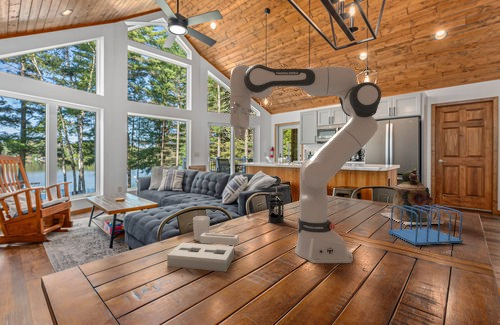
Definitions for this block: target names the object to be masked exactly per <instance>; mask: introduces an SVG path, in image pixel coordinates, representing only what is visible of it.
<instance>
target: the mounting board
mask: <svg viewBox="0 0 500 325" xmlns="http://www.w3.org/2000/svg"><path fill="white" fill-rule="evenodd" d="M234 257H235V245H232V246H229V245H222V244H211V245H208V244H207V243H193V242H180V243H179V244H178V245H177V246H175V248H174V249H172V250H171V251H170V252H169V253H168V254H167V256H166V258H167V260H166V262H167V265H166V266H167V267H173V268H184V269H194V270H202V271H203V270H204V271H214V272H215V271H216V272H227V271H228V269H229V268H230V265H231V263H232V261H233V260H234Z"/></svg>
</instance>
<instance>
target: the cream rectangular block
mask: <svg viewBox="0 0 500 325" xmlns="http://www.w3.org/2000/svg"><path fill="white" fill-rule="evenodd" d="M239 240H240V236H239V234H230V233H229V234H226V233H224V234H223V233H215V232H214V233H211V232H209V233H203V234H201V235H200V241H199V244H208V245H221V246H234V247H236V246H238V244H239Z"/></svg>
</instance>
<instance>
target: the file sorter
mask: <svg viewBox="0 0 500 325" xmlns="http://www.w3.org/2000/svg"><path fill="white" fill-rule="evenodd" d="M415 206H416V207H420V208H421V210H420V209H416V208H414V207H415ZM424 206H427V207H430V209H428V208H424ZM394 207H398V208H401V223H400V229H393V220H392V219H393V213H394V211H393V208H394ZM404 207H409V208H412V209H411V210H408V209H405V208H404ZM441 208H442V209H441ZM403 209H404V210H407V211H410V212H411V225H409V227H410V228H407V229H405V228H403V224H402V215H403ZM413 209H415V210H419V211H421V217H420V225H419V224H418V215H417V213H416V212H414V211H413ZM422 209H427V210H430V213H429V214H428V213H427V212H426V211H423V210H422ZM445 209H446V210H445ZM449 210H450V211H453V212H457V213H458V214H459V215H460V221H459V233H458V234H459V235H458V238H457V237H455V236H453V235H451V232H452V231H451V229H452V214H451V213H450V211H449ZM390 211H391V212H390V213H391V219H390V229H387V230H388V231H387V232H388V234H390V235H392V234H393V235H392V236H394V235H395V236H394V237H396V236H397V237H396V238H398V237H399V238H398V239H400V238H401V239H400V240H402V239H403V240H402V241H404V240H405V241H404V242H406V241H408V242H410V243H412V244H414V245H426V244H442V243H462V242H463V243H464V240H462V227H463V213H462V212H461V211H459V210H458V209H454V208H450V207H446V206H442V205H439V204H433V205H429V206H428V205H423V206H422V207H421V206H417V205H414V206H413V207H410V206H403V207H399V206H393V205H392V207H391V210H390ZM438 211H442V212H445V213H447V214H448V216H449V219H448V220H449V224H448V234H447V233H444V232H441V225H440V221H441V214H440V213H439V212H438ZM422 212H425V213H426V214H427V217H428V220H427V225H426V228H422V226H423V225H422ZM433 212H434V213H436V214H437V215H438V220H439V222H438V225H437V226H438V227H437V228H438V229H437V230H435V229H433V228H432V225H431V221H432V219H433ZM413 213H415V215H416V217H417V221H416V225H415V228H413V225H412V215H413ZM429 218H430V225H429ZM408 242H407V243H408ZM410 243H409V244H410ZM412 244H411V245H412ZM414 245H413V246H414Z"/></svg>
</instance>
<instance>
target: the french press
mask: <svg viewBox="0 0 500 325" xmlns="http://www.w3.org/2000/svg"><path fill="white" fill-rule="evenodd" d="M272 184H273V185H275V191H272V192H268V194H269V198H271V199H270V200H269V201H268V223H269V224H278V223H279V224H283V223H285V219H284V218H285V216H284V205H285V202H284V200H279V199H277V198H278V197H282V198H284V195H285V193H284V192H280V191H278V185H281V183H280V182H273V183H272ZM274 198H275V199H274ZM279 224H278V225H279Z"/></svg>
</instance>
